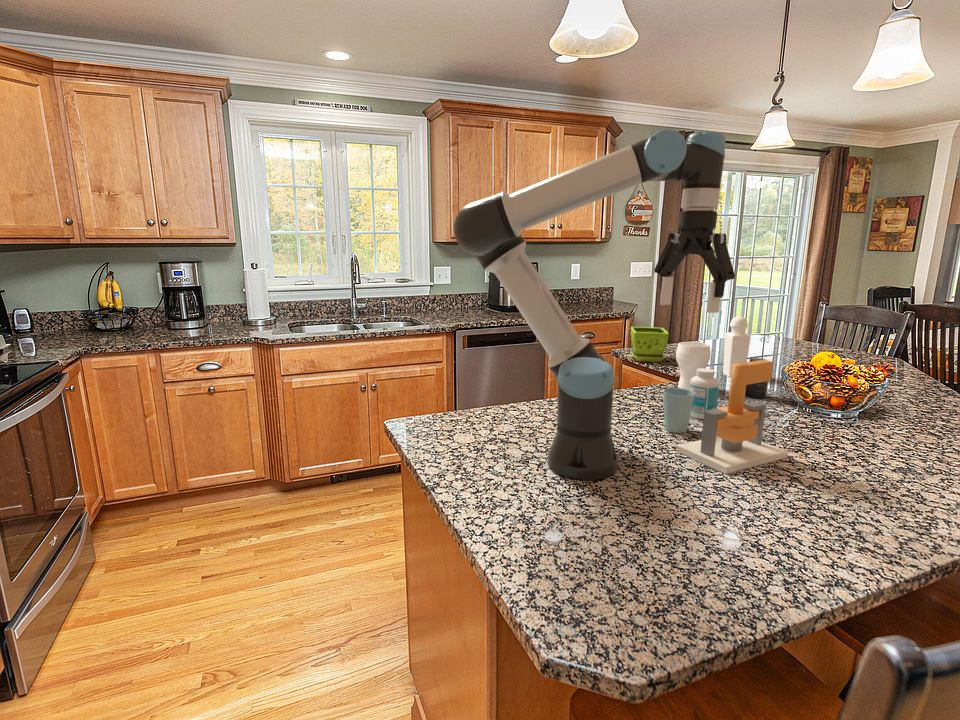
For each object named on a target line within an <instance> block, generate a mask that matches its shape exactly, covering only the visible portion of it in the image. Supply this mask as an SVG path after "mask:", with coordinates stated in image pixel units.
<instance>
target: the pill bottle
mask: <svg viewBox="0 0 960 720" xmlns="http://www.w3.org/2000/svg"><path fill="white" fill-rule="evenodd" d="M696 374H697V376H695V377H693V378H692V379H691V382H690V391H693V392H694V393H695V394H694V399H693V404H692V409H691V413H690V417H692V418H694V419H699V420H703V419H704V411H708V410H713V409H718V398H719V389H720V381H719V380H718V379H717V378H716V377H714V376H715V374H716V372H715V369H712V368H707V367H706V368H699V369H697V372H696Z"/></svg>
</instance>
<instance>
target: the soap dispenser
mask: <svg viewBox="0 0 960 720" xmlns="http://www.w3.org/2000/svg"><path fill="white" fill-rule="evenodd" d="M729 326H730V328H731V332H726V333H725V334H724V349H723V363H722V364H723V369H722V374H723V375H725V376H726V377H727V378H731V374H732V364H734V363H745V362H748V357H749V356H748V355H749V351H750V344H751V339H752V337H751V335H749V334H747V333H746V329H747V328H748V327H749V323H748V320H747V319H746V318H745V317H743V316H739V315H738V316H735V317H733V318H732V319H731V321H730V323H729Z"/></svg>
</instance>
